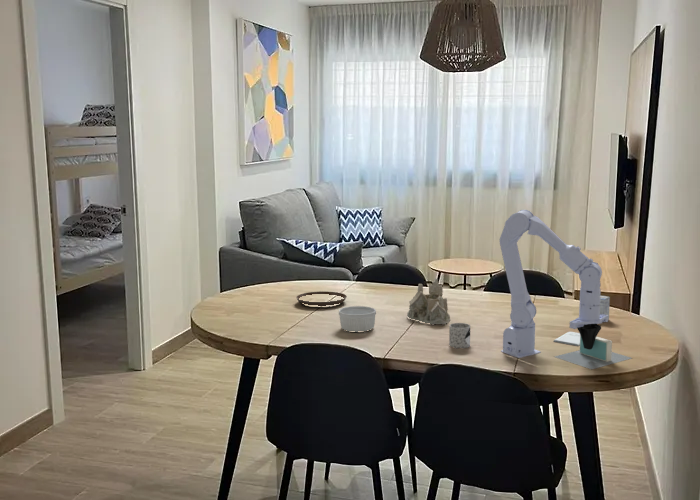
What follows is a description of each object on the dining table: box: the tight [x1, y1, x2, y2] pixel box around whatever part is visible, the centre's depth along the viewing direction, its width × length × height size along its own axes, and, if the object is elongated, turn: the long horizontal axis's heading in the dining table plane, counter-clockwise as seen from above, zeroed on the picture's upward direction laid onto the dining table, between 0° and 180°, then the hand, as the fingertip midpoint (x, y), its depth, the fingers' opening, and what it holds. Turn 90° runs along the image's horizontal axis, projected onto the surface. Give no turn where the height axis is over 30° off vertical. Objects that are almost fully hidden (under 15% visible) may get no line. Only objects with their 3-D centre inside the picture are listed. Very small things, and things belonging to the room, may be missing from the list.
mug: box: [448, 322, 471, 349], centre depth 222 cm, size 10×7×7 cm
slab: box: [579, 335, 613, 362], centre depth 205 cm, size 2×10×6 cm, turn 31°
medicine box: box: [600, 295, 611, 321], centre depth 248 cm, size 8×4×9 cm, turn 47°
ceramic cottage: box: [406, 278, 451, 325], centre depth 251 cm, size 16×16×15 cm
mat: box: [553, 349, 633, 371], centre depth 205 cm, size 18×14×1 cm
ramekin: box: [338, 305, 377, 332], centre depth 241 cm, size 13×13×7 cm
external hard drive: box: [553, 331, 580, 347], centre depth 224 cm, size 2×8×12 cm
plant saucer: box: [296, 290, 347, 306], centre depth 280 cm, size 21×21×3 cm
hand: (588, 348), depth 203 cm, fingers closed
